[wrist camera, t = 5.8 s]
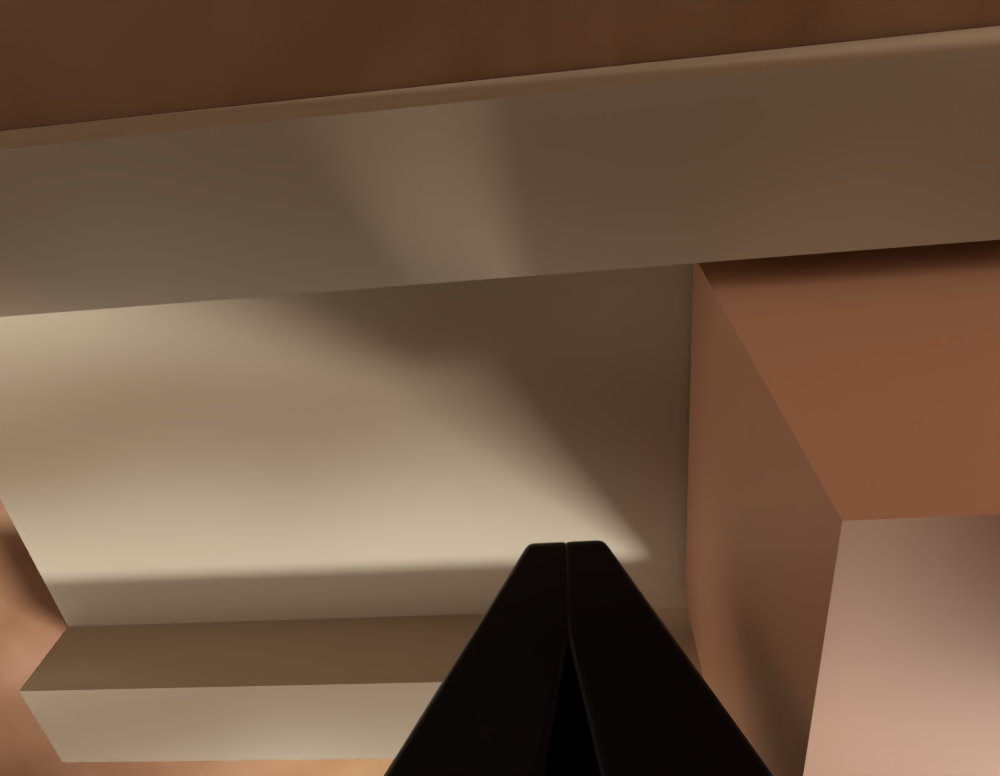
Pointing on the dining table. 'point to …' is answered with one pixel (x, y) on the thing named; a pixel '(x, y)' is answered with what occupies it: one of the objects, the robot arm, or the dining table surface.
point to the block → (850, 506)
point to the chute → (406, 360)
